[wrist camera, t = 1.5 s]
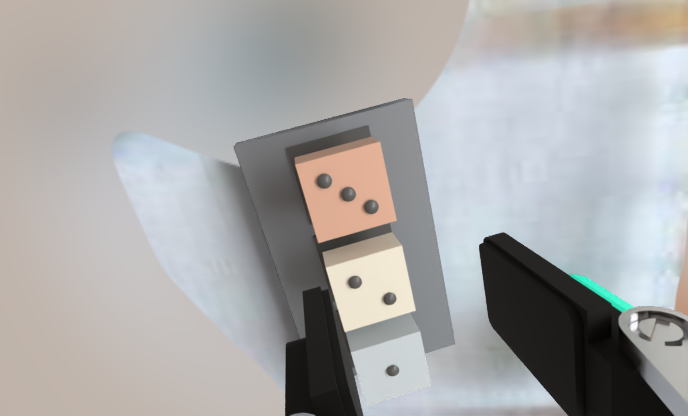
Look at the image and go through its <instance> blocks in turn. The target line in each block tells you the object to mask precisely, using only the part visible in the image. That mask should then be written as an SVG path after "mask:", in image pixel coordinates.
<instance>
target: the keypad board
mask: <svg viewBox="0 0 688 416" xmlns="http://www.w3.org/2000/svg"><path fill="white" fill-rule="evenodd" d="M368 137H373V138H375V139H376V140H378V141H380V143H381V148H382V153H383V158H384V162H385V167H386V172H387V177H388V181H389V186H390V191H391V195H392V200H393V205H394V210H395V214H396V219H397V221H394V222H390V223H387V224H383V225H380V226H377V227H373V228H370V229H366V230H363V231H359V232H356V233H352V234H349V235H345V236H342V237H338V238H335V239H331V240H328V241H324V242H321V243H318V240H317V237H316V233H315V230H314V227H313V223H312V220H311V216H310V213H309V210H308V206H307V203H306V200H305V196H304V193H303V189H302V186H301V183H300V179H299V176H298V172H297V169H296V166H295V157H299V156H302V155H306V154H310V153H313V152H317V151H321V150H324V149H328V148H332V147H335V146H339V145H343V144H346V143H350V142H354V141H357V140H361V139H365V138H368ZM234 149H235V153H236V155H237V158H238V161H239V164H240V167H241V170H242V173H243V176H244V178H245V181H246V184H247V187H248V190H249V193H250V196H251V199H252V201H253V204H254V207H255V210H256V213H257V216H258V219H259V222H260V225H261V227H262V230H263V233H264V236H265V239H266V242H267V245H268V248H269V250H270V253H271V256H272V259H273V262H274V265H275V268H276V271H277V273H278V276H279V279H280V282H281V285H282V288H283V291H284V294H285V296H286V299H287V302H288V305H289V308H290V311H291V314H292V317H293V319H294V322H295V325H296V328H297V331H298V334H299V337H300V339H302V338H305V337H306V335H305V322H304V308H303V294H302V291H305V290H309V289H312V288H315V287H319V286H320V287H321V289H322V290H326V289H329V292H330V295H331V298H332V302H333V305H334V308H335V312H336V315H337V318H338V322H339V325H340V328H341V332H342V335H343V338H344V342H345V345H346V349H347V352H348V355H349V359H350V362H351V366H352V370H353V374H354V375H357V372H356V369H355V365H354V362H353V359H352V355H351V352H350V347H349V343H348V339H347V335H346V332H344V328H343V325H342V321H341V318H340V315H339V311H338V308H337V304H336V301H335V298H334V294H333V291H332V288H331V284H330V281H329V277H328V274H327V271H326V267H325V262H324V258H323V253H322V252H325V251H329V250H332V249H336V248H339V247H343V246H346V245H349V244H353V243H356V242H360V241H363V240H367V239H370V238H374V237H377V236H381V235H384V234H388V233H391V232H393V234H394V235H395V236H396V238H397V239H398V241H399V242H400V243H401V245H402V247H403V252H404V257H405V262H406V266H407V271H408V276H409V281H410V285H411V290H412V295H413V299H414V304H415V309H416V311H413V312H410V314H411V315H412V317H413V319H414V321H415V323H416V324H417V326H418V328H419V330H420V333H421V337H422V342H423V347H424V351H425V353H428V352H431V351H434V350H437V349H440V348H444V347H447V346H450V345H453V344H455V340H454V335H453V329H452V323H451V318H450V312H449V306H448V300H447V295H446V289H445V283H444V278H443V272H442V266H441V261H440V255H439V249H438V243H437V238H436V232H435V226H434V221H433V215H432V209H431V204H430V198H429V192H428V186H427V181H426V175H425V169H424V164H423V158H422V152H421V146H420V141H419V135H418V129H417V124H416V118H415V112H414V107H413V101H412V99H406V98H403V99H399V100H396V101H392V102H389V103H384V104H381V105H377V106H374V107H369V108H366V109H362V110H358V111H354V112H351V113H347V114H343V115H339V116H336V117H332V118H328V119H324V120H321V121H317V122H313V123H310V124H306V125H302V126H298V127H295V128H291V129H287V130H283V131H280V132H276V133H272V134H268V135H265V136H261V137H257V138H253V139H250V140H246V141H242V142H238V143H237V144H236V145H235V146H234Z"/></svg>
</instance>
